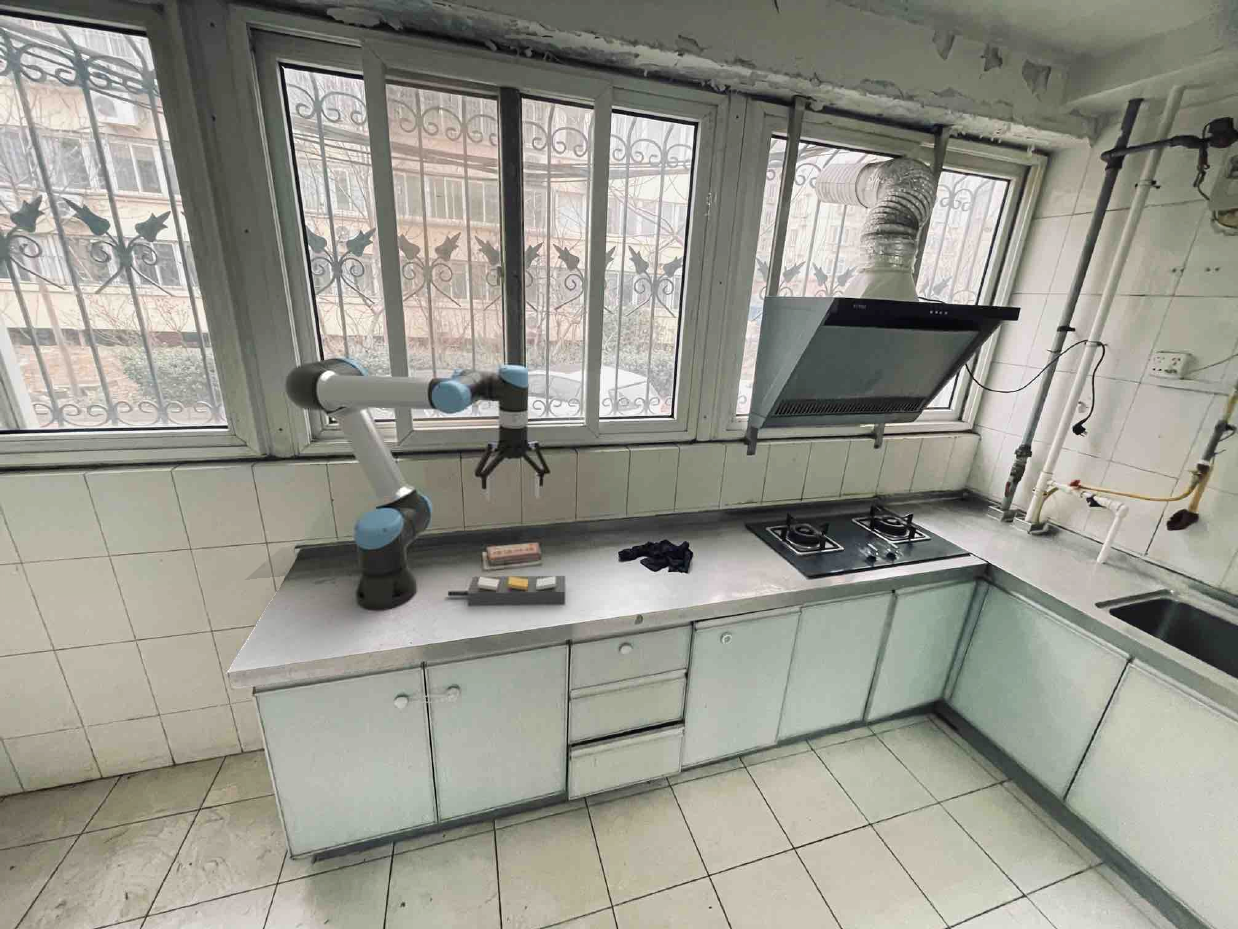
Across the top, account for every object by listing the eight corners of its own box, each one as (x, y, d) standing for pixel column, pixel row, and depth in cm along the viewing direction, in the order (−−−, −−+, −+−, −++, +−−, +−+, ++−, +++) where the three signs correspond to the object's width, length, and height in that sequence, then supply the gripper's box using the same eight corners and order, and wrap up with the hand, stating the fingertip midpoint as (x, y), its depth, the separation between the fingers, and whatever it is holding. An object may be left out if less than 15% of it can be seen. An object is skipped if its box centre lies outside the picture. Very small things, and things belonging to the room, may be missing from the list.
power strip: (445, 606, 132) (444, 592, 130) (452, 589, 139) (451, 576, 138) (564, 604, 135) (564, 591, 134) (565, 587, 143) (565, 575, 141)
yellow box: (507, 587, 132) (508, 583, 132) (509, 579, 136) (509, 576, 135) (526, 590, 133) (527, 586, 133) (527, 582, 137) (528, 579, 136)
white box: (477, 587, 132) (477, 584, 131) (479, 579, 135) (480, 576, 135) (496, 590, 132) (497, 587, 132) (498, 582, 136) (499, 579, 135)
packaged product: (538, 537, 161) (542, 552, 152) (538, 550, 163) (542, 566, 154) (481, 543, 156) (482, 558, 147) (482, 556, 158) (483, 572, 149)
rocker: (536, 589, 133) (536, 586, 133) (537, 582, 137) (537, 579, 137) (555, 586, 134) (555, 583, 133) (556, 579, 137) (555, 576, 137)
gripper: (465, 429, 123) (467, 506, 130) (562, 428, 131) (559, 500, 138) (463, 421, 129) (465, 495, 136) (556, 420, 138) (553, 490, 145)
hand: (512, 497), depth 137 cm, fingers open, 13 cm apart
